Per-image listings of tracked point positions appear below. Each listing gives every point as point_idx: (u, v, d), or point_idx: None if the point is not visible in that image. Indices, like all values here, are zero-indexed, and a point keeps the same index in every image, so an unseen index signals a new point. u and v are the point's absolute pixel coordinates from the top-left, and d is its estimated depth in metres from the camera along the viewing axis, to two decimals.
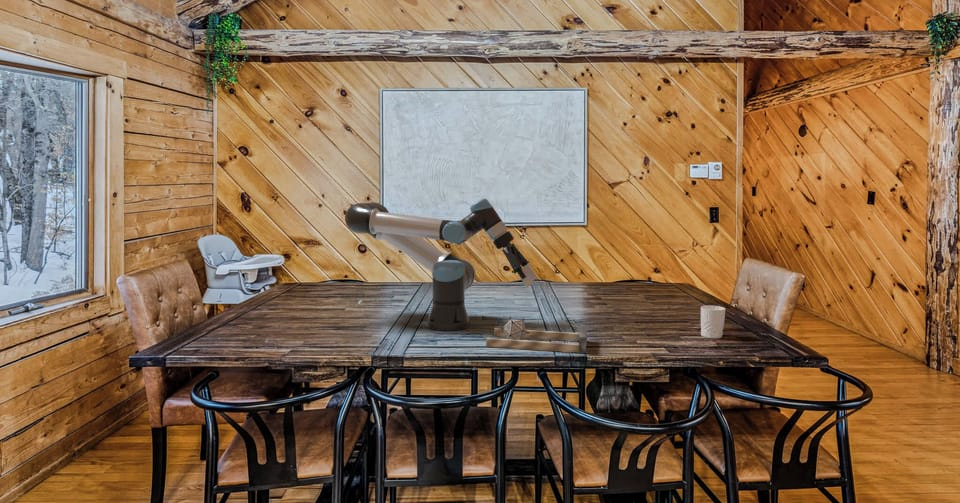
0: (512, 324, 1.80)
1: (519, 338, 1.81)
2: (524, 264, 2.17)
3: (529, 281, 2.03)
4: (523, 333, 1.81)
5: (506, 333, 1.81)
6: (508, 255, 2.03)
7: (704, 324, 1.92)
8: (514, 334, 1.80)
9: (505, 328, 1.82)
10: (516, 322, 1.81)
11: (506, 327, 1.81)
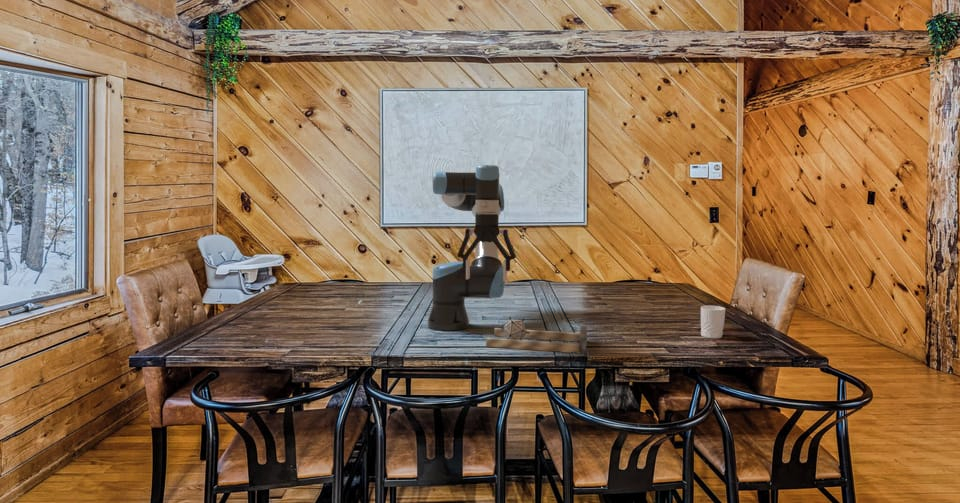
0: (512, 324, 1.80)
1: (519, 338, 1.81)
2: None
3: None
4: (523, 333, 1.81)
5: (506, 333, 1.81)
6: None
7: (704, 324, 1.92)
8: (514, 334, 1.80)
9: (505, 328, 1.82)
10: (516, 322, 1.81)
11: (506, 327, 1.81)
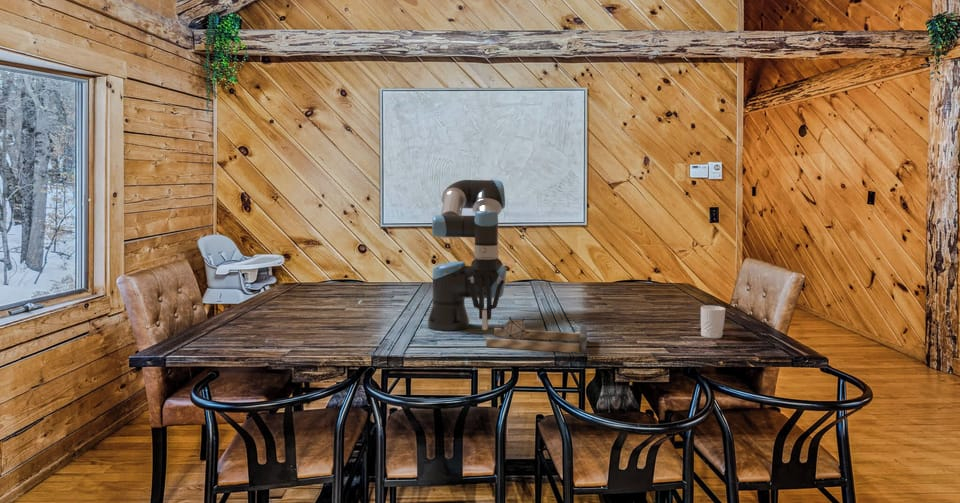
0: (512, 324, 1.80)
1: (519, 338, 1.81)
2: None
3: None
4: (523, 333, 1.81)
5: (506, 333, 1.81)
6: None
7: (704, 324, 1.92)
8: (514, 334, 1.80)
9: (505, 328, 1.82)
10: (516, 322, 1.81)
11: (506, 327, 1.81)
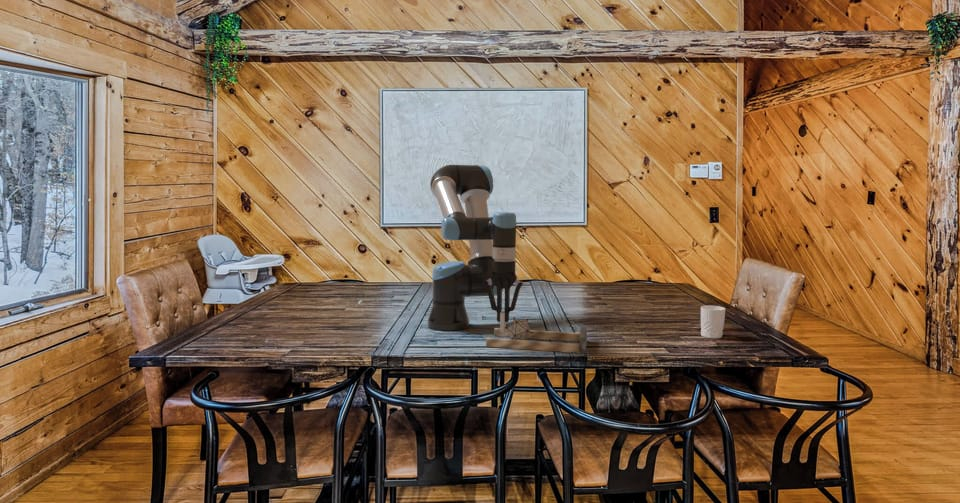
0: (516, 324, 1.80)
1: (523, 338, 1.80)
2: None
3: None
4: (528, 333, 1.81)
5: (510, 333, 1.81)
6: None
7: (704, 324, 1.92)
8: (519, 334, 1.79)
9: (509, 328, 1.81)
10: (520, 322, 1.81)
11: (510, 327, 1.81)
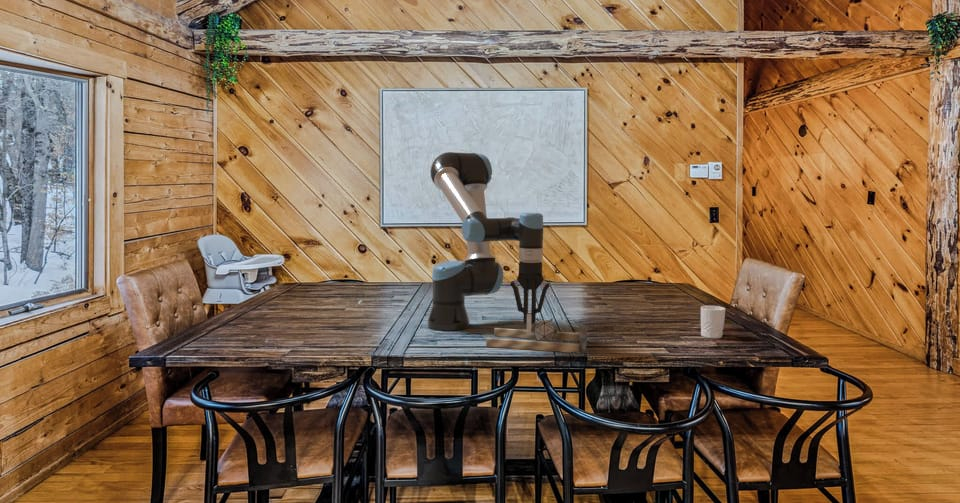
0: (544, 325, 1.79)
1: (551, 338, 1.80)
2: None
3: None
4: None
5: (538, 334, 1.80)
6: None
7: (704, 324, 1.92)
8: (548, 335, 1.79)
9: (536, 330, 1.80)
10: (547, 323, 1.80)
11: (537, 328, 1.80)
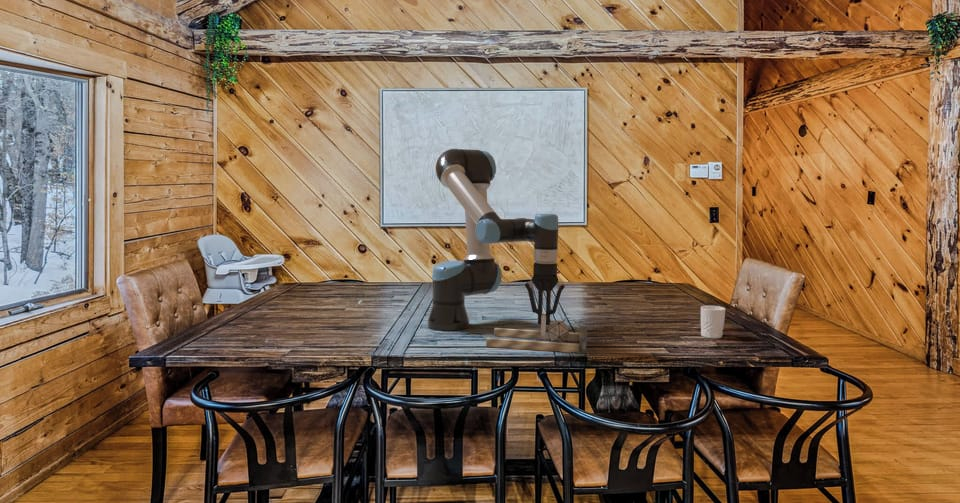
0: (559, 325, 1.79)
1: (565, 339, 1.80)
2: (546, 313, 1.80)
3: (541, 331, 1.80)
4: None
5: (552, 335, 1.79)
6: None
7: (704, 324, 1.92)
8: (562, 335, 1.79)
9: (551, 330, 1.79)
10: (561, 323, 1.80)
11: (552, 329, 1.79)
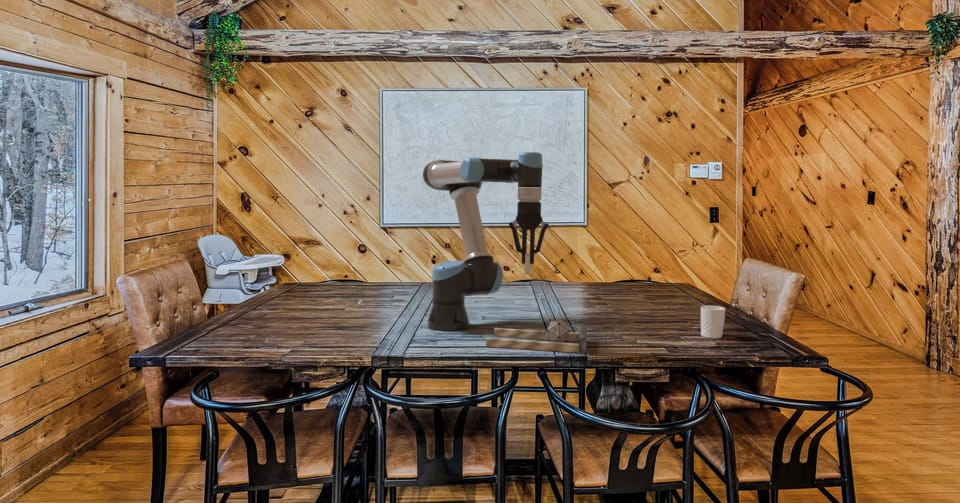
0: (559, 325, 1.79)
1: (565, 339, 1.80)
2: None
3: (525, 270, 1.81)
4: None
5: (552, 335, 1.79)
6: None
7: (704, 324, 1.92)
8: (562, 335, 1.79)
9: (551, 330, 1.79)
10: (561, 323, 1.80)
11: (552, 329, 1.79)
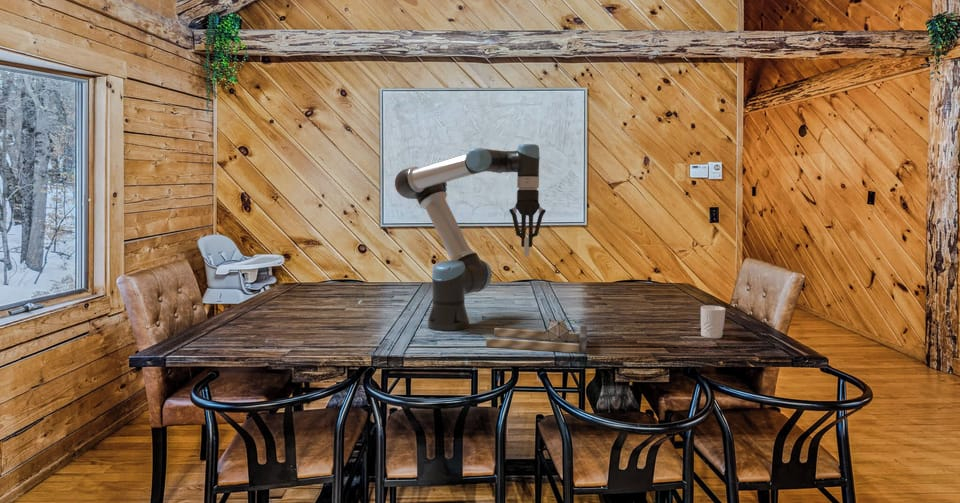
0: (559, 325, 1.79)
1: (565, 339, 1.80)
2: (529, 236, 1.97)
3: (524, 252, 1.97)
4: None
5: (552, 335, 1.79)
6: None
7: (704, 324, 1.92)
8: (562, 335, 1.79)
9: (551, 330, 1.79)
10: (561, 323, 1.80)
11: (552, 329, 1.79)
